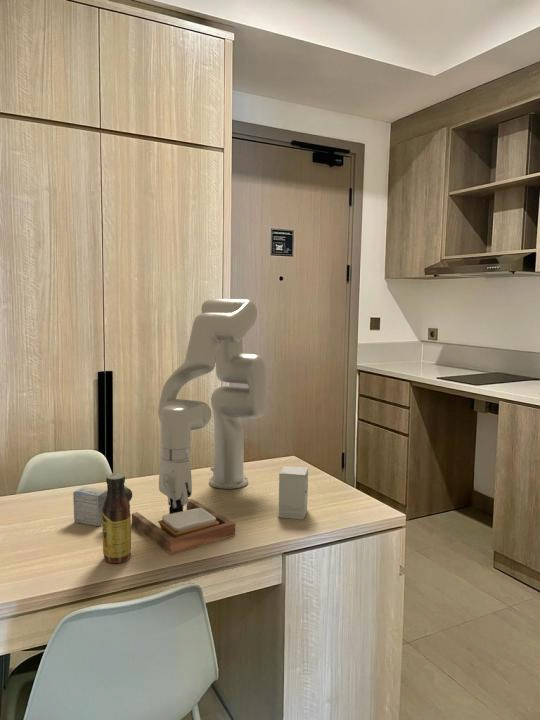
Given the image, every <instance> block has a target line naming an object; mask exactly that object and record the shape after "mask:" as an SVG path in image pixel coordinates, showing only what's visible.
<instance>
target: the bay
mask: <svg viewBox="0 0 540 720" xmlns="http://www.w3.org/2000/svg"><path fill="white" fill-rule="evenodd" d="M124 491H125V493H124V495H125V496H126V497H127V499H128V501H129V503H130V502H131V500H132V498H133V491H132V490H131V489H130V488H129V487H127V486H126V485H124ZM196 508H202V509H204V510H206V511H207V512H208V513H210V514H211V515H213V516H214V517H215V518H216V521H218V522H219V525H217V526H214V527H211V528H207V529H204V530H200V531H197V532H193V533H190V534H187V535H183V536H180V537H176V538H173V537H172V536H170V535H169V534H168V533H166V532H165V531H163V530H162V528H161V527H159V526H158V525H156V524H155V523H153V522H152V521H151V520H149V519H148V518H146V517H145V516H144V515H143V514H141V513H139V512H138V511H135V512H132V513H131V526H133V527H135V528H136V529H137V530H138V531H140V532H141V533H143V534H144V535H145V536H146V537H148V538H149V539H150V540H152V541H153V542H154V543H156V544H157V545H158V546H159V547H161V549H164V550H165V552H167V553H169V554H170V555H174V554H178V553H181V552H183V551H184V552H185V551H187V550H191V549H194V548H197V547H200V546H203V545H207V544H209V543H212V542H216V541H219V540H222V539H225V538H228V537H232V536H235V535H236V523H235V522H234V521H232V520H230V519H228V518H227V517H225V516H223V515H221V514H219V512H217V511H214V510H213V509H211V508H209V507H208V506H205V504H202V503H200V502H199V501H197V500H195V499H193V498H188V504H186V510H191V509H196Z"/></svg>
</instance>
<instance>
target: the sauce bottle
mask: <svg viewBox="0 0 540 720" xmlns="http://www.w3.org/2000/svg"><path fill="white" fill-rule="evenodd" d="M125 481H126V476H125V474H123V473H119V472H116V473H110V474H108V475H107V476H106V479H105V482H106V486H107V488H106V490H107V497H106V500H105V503H104V506H103V509H102V525H101V527H102V528H101V530H102V553H103V558H104V561H105V562H106V563H110V564H120V563H123V562H126V561H127V560H129V559H130V557H131V555H132V553H131V552H132V551H131V550H132V529H131V528H132V513H131V503H130V502H129V501H128V499H127V497H126V496H125V495H124V493H125V491H124V486H125Z"/></svg>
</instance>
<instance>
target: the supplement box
mask: <svg viewBox="0 0 540 720" xmlns="http://www.w3.org/2000/svg"><path fill="white" fill-rule="evenodd" d="M278 475H279V476H278V478H279V479H278V480H279V481H278V511H277V513H278V516H277V517H278V518H284V519H292V520H293V519H294V520H304V519H305V516H306V513H307V510H308V496H309V495H308V494H309V493H308V491H309V488H308V487H309V467H304V466H290V465H289V466H288V465H283V466H282V468H281V470H280V472H279V473H278Z"/></svg>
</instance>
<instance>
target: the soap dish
mask: <svg viewBox="0 0 540 720" xmlns="http://www.w3.org/2000/svg"><path fill="white" fill-rule="evenodd" d="M158 523H159V524H158V525H160V529H162V530H163V531H165V532H166V533H168V534H169V535H170V536H172V537H173V538H176V537H180V536H183V535H187V534H190V533H193V532H197V531H200V530H204V529H207V528H211V527H214V526H217V525H219V522H218V521H216V518H215V517H214V516H213V515H211V514H210V513H208V512H207V511H206V510H204V509H202V508H196V509H191V510H187V509H186V510H183V511H181V512H177V513H172V514H169V513H168V514H165V515H162V516H161V520H158Z"/></svg>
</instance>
